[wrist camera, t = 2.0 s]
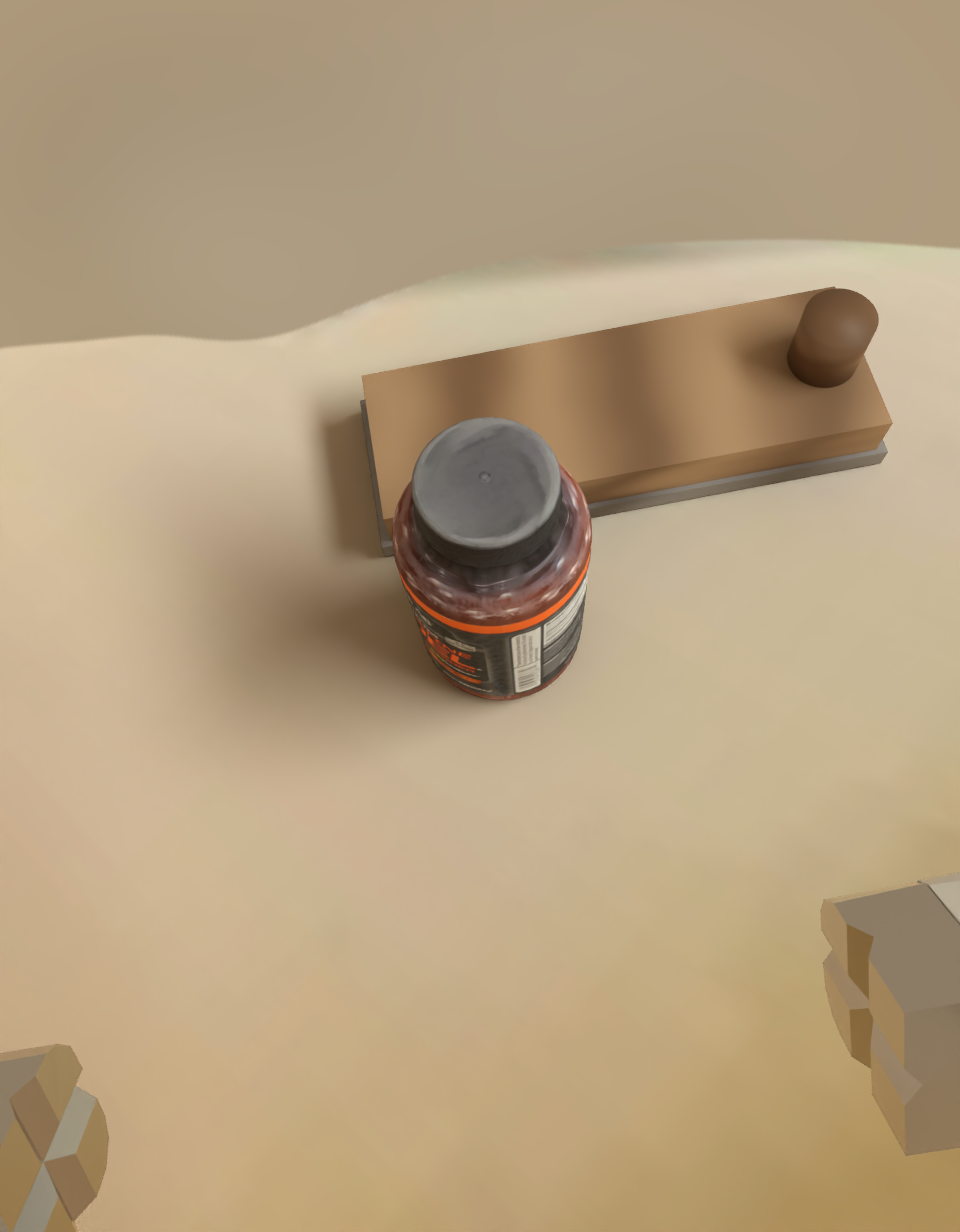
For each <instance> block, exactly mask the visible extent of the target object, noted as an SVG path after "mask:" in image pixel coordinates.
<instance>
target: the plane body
mask: <svg viewBox="0 0 960 1232" xmlns="http://www.w3.org/2000/svg"><path fill="white" fill-rule="evenodd" d="M877 327H878V313H877V311H876V309H875V307H874V305H873V304H872V303H871V302H870V301H869V300H868V299H867V298H866V297H864V296H863V295H861V294H859V293H857V292H854V291H851V290H847V289H836V288H835V287H829V288H824V289H819V290H813V291H808V292H803V293H797V294H792V295H787V296H782V297H776V298H771V299H766V300H760V301H755V302H750V303H745V304H739V305H734V306H729V307H723V308H718V309H713V310H707V311H702V312H697V313H692V314H686V315H681V316H676V317H670V318H665V319H660V320H654V321H649V322H644V323H639V324H633V325H628V326H623V327H617V328H612V329H607V330H602V331H596V332H591V333H586V334H580V335H575V336H570V337H564V338H559V339H554V340H549V341H543V342H538V343H533V344H527V345H522V346H517V347H512V348H506V349H501V350H496V351H490V352H485V353H480V354H474V355H469V356H464V357H459V358H453V359H448V360H443V361H437V362H432V363H427V364H422V365H416V366H411V367H406V368H400V369H395V370H390V371H384V372H379V373H374V374H369V375H363V376H362V381H363V387H364V394H365V400H361V401H360V403H361V410H362V417H363V424H364V430H365V437H366V444H367V451H368V457H369V464H370V471H371V478H372V484H373V491H374V498H375V505H376V511H377V518H378V525H379V531H380V538H381V545H382V549H383V552H384V554H385V557H387V556H392V555H394V551H393V540H392V525H393V518H394V514H395V511H396V507H397V504H398V502H399V499H400V498H401V495H402V493H403V491H404V490H405V488H406V486H407V485H408V483H409V482H410V481H411V479H412V473H413V470H414V467H415V463H416V461H417V459H418V457H419V456H420V454H421V452H422V450H423V449H424V448H425V447H426V445H427V444H428V443H429V442H430V441H431V440H432V439H433V438H434V437H435V436H436V435H438V434H439V433H441V432H442V431H443V430H445V429H446V428H448V427H450V426H452V425H454V424H457V423H459V422H462V421H465V420H469V419H474V418H483V417H495V418H503V419H509V420H513V421H516V422H519V423H521V424H523V425H525V426H527V427H529V428H530V429H531V430H533V431H535V432H537V433H538V434H539V435H540V436H541V437H542V438H543V439H544V440H545V441H546V443H547V444H548V445H549V446H550V448H551V449H552V451H553V452H554V454H555V456H556V459H557V461H558V462H559V463H560V464H561V465H562V466H563V467H564V468H565V469H566V470H567V471H568V472H569V473H570V474H571V475H572V476H573V478H574V479H575V480H576V482H577V483H578V485H579V487H580V488H581V490H582V492H583V494H584V496H585V499H586V501H587V504H588V508H589V511H590V516H591V518H593V517H598V516H603V515H609V514H614V513H619V512H624V511H630V510H635V509H640V508H646V507H651V506H656V505H661V504H667V503H672V502H677V501H683V500H688V499H693V498H698V497H704V496H709V495H714V494H720V493H725V492H730V491H735V490H741V489H746V488H751V487H757V486H762V485H767V484H772V483H778V482H783V481H788V480H794V479H799V478H804V477H809V476H815V475H820V474H825V473H831V472H836V471H841V470H846V469H852V468H857V467H862V466H868V465H873V464H878V463H881V462H882V460H883V459H884V457H885V456H886V454H887V453H888V451H887V449H886V446H885V444H884V441H883V438H884V436H885V434H886V433H887V431H888V430H889V428H890V426H891V425H892V420H891V418H890V415H889V413H888V411H887V408H886V406H885V404H884V401H883V399H882V397H881V394H880V392H879V390H878V387H877V385H876V382H875V380H874V378H873V375H872V373H871V371H870V368H869V366H868V364H867V361H866V359H865V357H864V353H865V351H866V349H867V347H868V345H869V343H870V341H871V339H872V337H873V335H874V333H875V331H876V329H877Z"/></svg>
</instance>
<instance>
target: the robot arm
mask: <svg viewBox="0 0 960 1232" xmlns="http://www.w3.org/2000/svg"><path fill="white" fill-rule="evenodd" d="M821 930H822V932H823V934H824V935H825V937H826V939H827V940H828V942H829V944H830V945H831V947H832V951H831V952H830V954H829V955H828V956H827V958H826V959H825V961H824V962H823V968H824V979H825V989H826V993H827V997H828V1000H829V1004H830V1008H831V1012H832V1016H833V1018H834V1020H835V1023H836V1025H837V1028H838V1030H839V1033H840V1035H841V1037H842V1039H843V1041H844V1043H845V1045H846V1047H847V1049H848V1051H849V1052H850V1054H851V1056H852V1057H853V1058H855V1059H856V1060H858V1061H859V1062H861V1063H863V1064H864V1065H866V1066H867V1067H869V1068H871V1076H872V1095H873V1097H874V1099H875V1101H876V1103H877V1104H878V1106H879V1108H880V1110H881V1112H882V1113H883V1115H884V1117H885V1119H886V1121H887V1123H888V1124H889V1126H890V1128H891V1130H892V1132H893V1134H894V1135H895V1137H896V1139H897V1141H898V1143H899V1144H900V1146H901V1148H902V1150H903V1152H904V1154H905V1155H906V1156H908V1155H915V1154H921V1153H928V1152H934V1151H941V1150H948V1149H954V1148H960V872H957V873H953V874H948V875H943V876H938V877H933V878H928V879H923V880H918V881H917V883H916V882H911V883H906V884H901V885H896V886H891V887H886V888H880V889H875V890H870V891H865V892H860V893H855V894H850V895H845V896H840V897H835V898H830V899H825V900H823V904H822V907H821ZM81 1071H82V1066H81V1064H80V1063H79V1061H78V1059H77V1057H76V1055H75V1054H74V1052H73V1050H72V1048H71V1046H68V1045H61V1044H54V1045H48V1046H42V1047H36V1048H30V1049H24V1050H17V1051H11V1052H5V1053H0V1232H78V1230H77V1228H76V1225H75V1222H74V1221H75V1220H76V1219H77V1217H78V1216H79V1215H80V1214H81V1213H82V1212H83V1211H84V1210H85V1209H86V1208H87V1207H88V1205H89V1204H90V1203H91V1202H92V1201H93V1200H94V1199H95V1198H96V1197H97V1194H98V1191H99V1188H100V1185H101V1182H102V1179H103V1176H104V1173H105V1170H106V1164H107V1153H108V1141H109V1136H108V1130H107V1125H106V1119H105V1115H104V1112H103V1110H102V1108H101V1106H100V1104H99V1102H98V1099H97V1098H96V1097H94V1096H92V1095H90V1094H89V1093H87V1092H85V1091H84V1090H82V1089H80V1088H79V1087H77V1086H76V1083H77V1081H78V1078H79V1076H80V1073H81Z"/></svg>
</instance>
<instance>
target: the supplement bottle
mask: <svg viewBox="0 0 960 1232" xmlns="http://www.w3.org/2000/svg"><path fill="white" fill-rule="evenodd" d="M392 540H393V551H394V557H395V561H396V564H397V567H398V570H399V573H400V576H401V579H402V583H403V586H404V588H405V591H406V593H407V597H408V599H409V602H410V604H411V606H412V609H413V611H414V615H415V618H416V620H417V624H418V627H419V629H420V632H421V635H422V637H423V640H424V643H425V645H426V648H427V651H428V653H429V655H430V656H431V658H432V660H433V662H434V663H435V665H436V666H437V668H438V669H439V670H440V672H441V673H442V674H443V675H444V676H445V677H446V678H447V679H448V680H449V681H450V682H451V683H453V684H454V685H456V686H457V687H459V688H460V689H462V690H464V691H466V692H468V693H470V694H473V695H476V696H479V697H482V698H487V699H493V700H512V699H517V698H521V697H524V696H528V695H531V694H533V693H535V692H538V691H540V690H542V689H543V688H546V687H547V686H548V685H549V684H551V683H552V682H553V681H555V680H556V679H557V678H558V677H559V676H560V675H561V674H562V673H563V671H564V670H565V669H566V668H567V666H568V665H569V663H570V662H571V660H572V658H573V656H574V653H575V651H576V649H577V645H578V642H579V639H580V634H581V629H582V621H583V612H584V605H585V594H586V589H587V580H588V571H589V562H590V555H591V543H592V526H591V516H590V511H589V508H588V504H587V501H586V499H585V496H584V494H583V492H582V490H581V488H580V487H579V485H578V483H577V482H576V480H575V479H574V478H573V476H572V475H571V474H570V473H569V472H568V471H567V470H566V469H565V468H564V467H563V466H562V465H561V464H560V463H559V462H558V461H557V459H556V456H555V454H554V452H553V451H552V449H551V448H550V446H549V445H548V444H547V443H546V441H545V440H544V439H543V438H542V437H541V436H540V435H539V434H538V433H537V432H535V431H533V430H531V429H530V428H529V427H527V426H525V425H523V424H521V423H519V422H516V421H513V420H509V419H503V418H495V417H483V418H474V419H469V420H465V421H462V422H459V423H457V424H454V425H452V426H450V427H448V428H446V429H445V430H443V431H442V432H441V433H439V434H438V435H436V436H435V437H434V438H433V439H432V440H431V441H430V442H429V443H428V444H427V445H426V447H425V448H424V449H423V450H422V452H421V454H420V456H419V457H418V459H417V461H416V463H415V467H414V470H413V473H412V479H411V481H410V482H409V483H408V485H407V486H406V488H405V490H404V491H403V493H402V495H401V498H400V499H399V502H398V504H397V507H396V511H395V514H394V518H393V525H392Z"/></svg>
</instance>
